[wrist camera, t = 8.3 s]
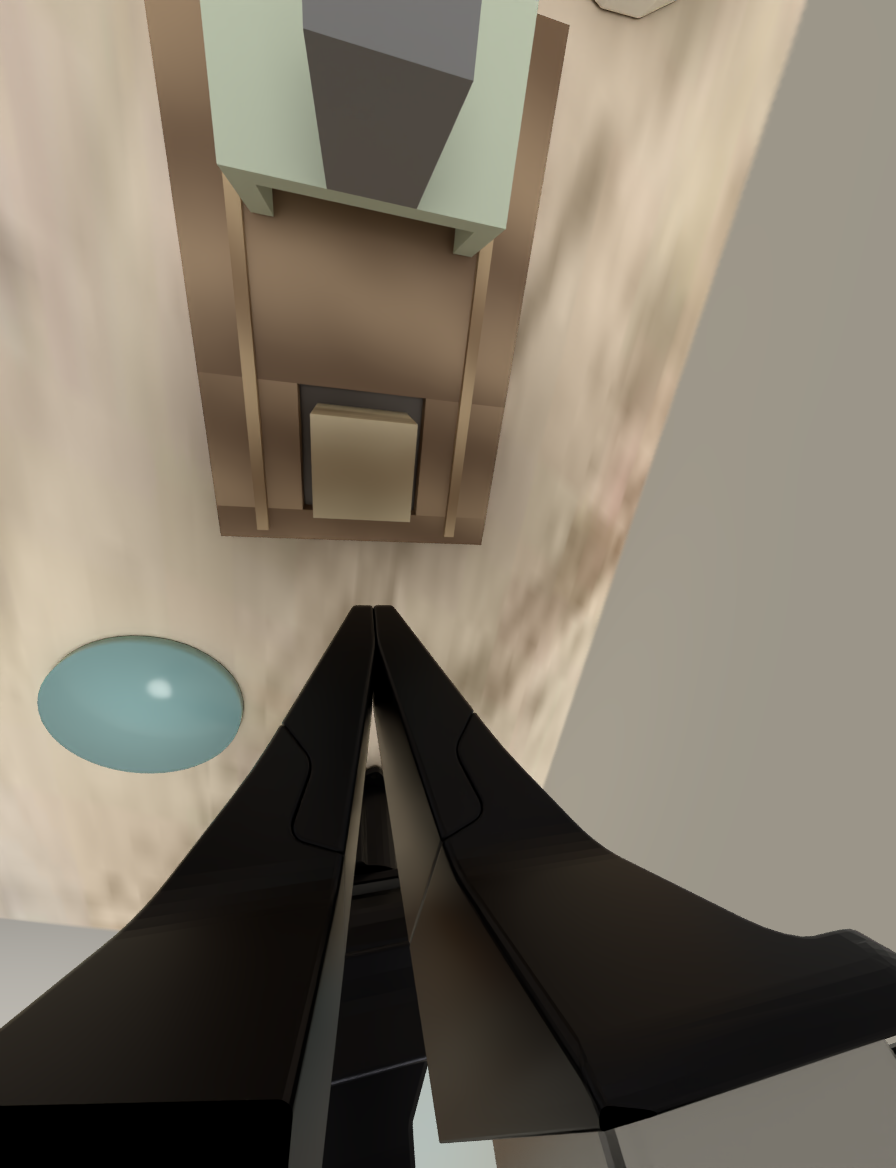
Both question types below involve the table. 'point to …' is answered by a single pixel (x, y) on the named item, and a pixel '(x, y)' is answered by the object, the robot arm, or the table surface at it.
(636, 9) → the white cup
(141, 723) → the teal saucer
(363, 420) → the block
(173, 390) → the table surface
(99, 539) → the table surface
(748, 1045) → the robot arm
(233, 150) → the sliding cover
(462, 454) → the puzzle board
